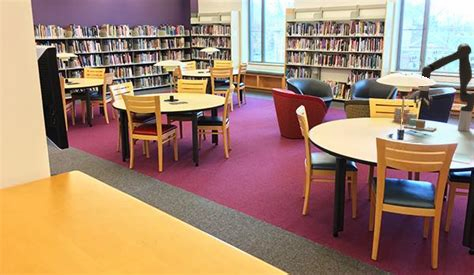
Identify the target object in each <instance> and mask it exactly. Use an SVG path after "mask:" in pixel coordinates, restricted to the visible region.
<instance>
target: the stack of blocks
mask: <svg viewBox="0 0 474 275" xmlns="http://www.w3.org/2000/svg"><path fill="white" fill-rule="evenodd" d="M401 108H402V107H394V115H393V121H396V122H399V123H401V122H400V121H401ZM410 119H418V114H417V113H414V112H410V108H404V113H403V122H402V123H403V124H410Z"/></svg>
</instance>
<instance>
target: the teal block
mask: <svg viewBox="0 0 474 275" xmlns="http://www.w3.org/2000/svg"><path fill="white" fill-rule="evenodd" d="M417 120H420V119H419V118H417V119H410V124H409V125H416V121H417Z"/></svg>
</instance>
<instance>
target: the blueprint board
mask: <svg viewBox="0 0 474 275" xmlns="http://www.w3.org/2000/svg"><path fill="white" fill-rule="evenodd" d="M403 128H404V129H409V130H417V131H424V132H431V133H433V132H435V131H437V127H430V126H425V127H424V128H417V127H416V125H409V124H408V123H406V124H405V125H404V126H403Z"/></svg>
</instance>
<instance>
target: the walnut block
mask: <svg viewBox="0 0 474 275" xmlns="http://www.w3.org/2000/svg"><path fill="white" fill-rule="evenodd" d="M416 127H417V128H424V127H426V120H424V119H423V120H422V119H419V120H417V121H416Z"/></svg>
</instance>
